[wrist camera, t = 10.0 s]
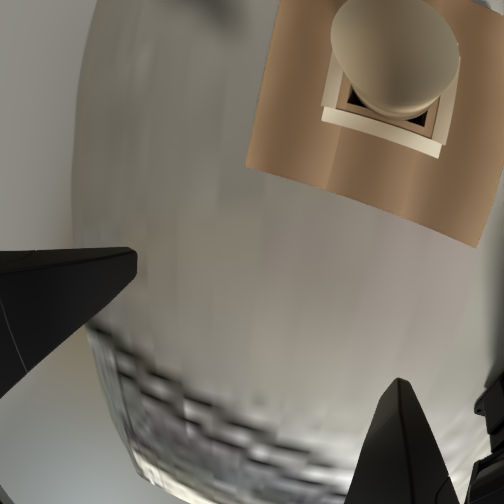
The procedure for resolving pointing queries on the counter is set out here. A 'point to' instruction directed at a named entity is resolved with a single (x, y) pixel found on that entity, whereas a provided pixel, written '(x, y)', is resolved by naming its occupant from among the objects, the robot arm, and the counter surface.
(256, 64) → the counter surface
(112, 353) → the counter surface
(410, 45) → the peg
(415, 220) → the seat block
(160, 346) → the counter surface
